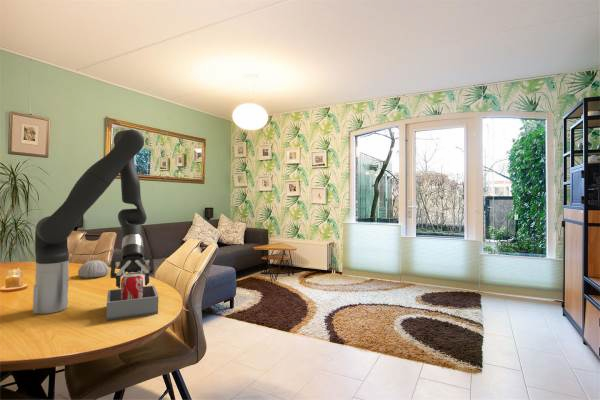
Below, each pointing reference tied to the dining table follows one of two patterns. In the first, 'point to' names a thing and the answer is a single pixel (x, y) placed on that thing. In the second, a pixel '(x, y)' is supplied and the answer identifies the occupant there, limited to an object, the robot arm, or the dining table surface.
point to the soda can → (131, 286)
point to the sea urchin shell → (93, 269)
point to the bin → (131, 304)
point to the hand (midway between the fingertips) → (133, 285)
